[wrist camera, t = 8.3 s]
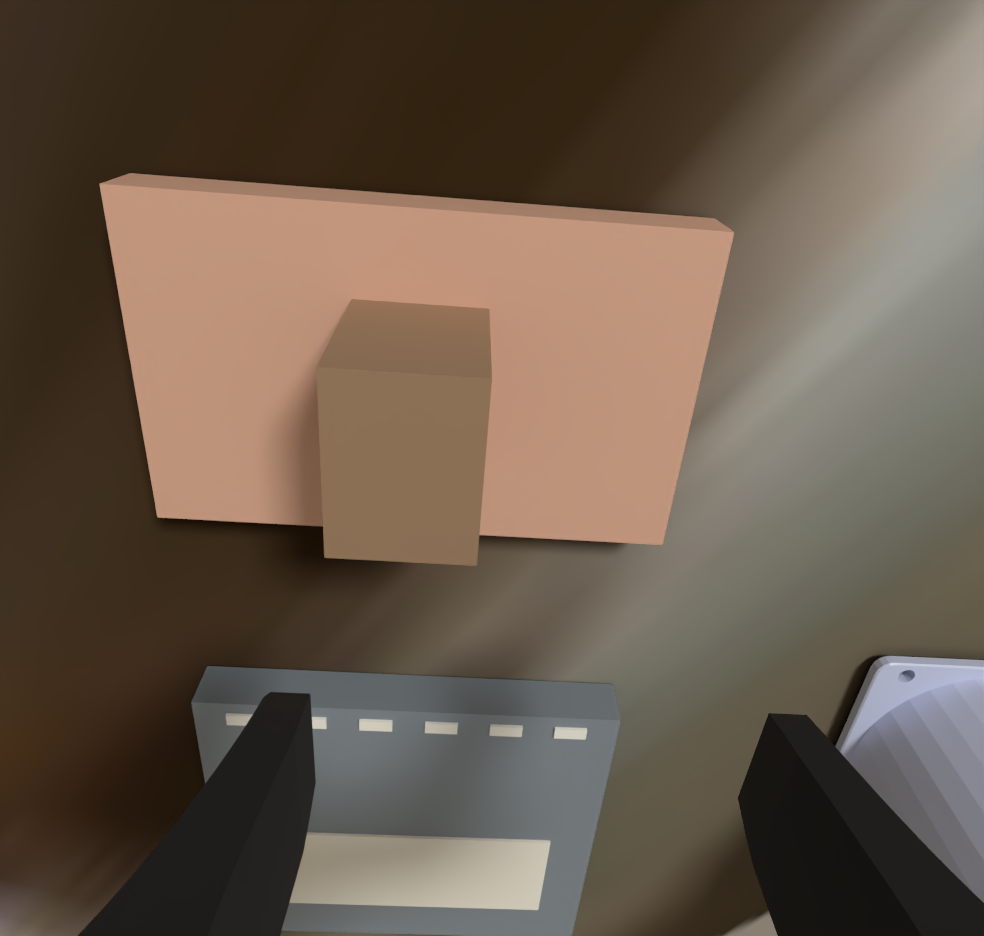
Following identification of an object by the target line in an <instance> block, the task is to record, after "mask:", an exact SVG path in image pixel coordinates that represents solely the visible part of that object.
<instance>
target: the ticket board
mask: <svg viewBox="0 0 984 936" xmlns="http://www.w3.org/2000/svg"><path fill="white" fill-rule="evenodd" d="M270 692H285V693H308V694H310V697H311V713H312V729H313V745H314V762H315V778H316V784H315V790H314V796H313V802H312V807H311V813H310V819H309V825H308V830H307V836H306V841H305V847H304V852H303V855H302V859H301V863H300V866H299V870H298V873H297V877H296V881H295V884H294V888H293V891H292V895H291V899H290V902H289V906H288V909H287V913H286V916H285V920H284V923H283V927H282V930H281V931H315V932H352V933H389V934H425V935H462V936H572V932H573V928H574V923H575V919H576V915H577V910H578V906H579V901H580V897H581V893H582V888H583V884H584V880H585V875H586V871H587V867H588V862H589V858H590V853H591V849H592V845H593V840H594V836H595V832H596V827H597V823H598V818H599V814H600V810H601V805H602V801H603V797H604V792H605V788H606V783H607V779H608V775H609V770H610V766H611V762H612V757H613V753H614V749H615V744H616V740H617V735H618V731H619V727H620V722H621V719H620V714H619V709H618V704H617V700H616V695H615V690H614V686H613V684H598V683H576V682H554V681H531V680H509V679H487V678H464V677H442V676H420V675H397V674H375V673H353V672H330V671H308V670H286V669H263V668H241V667H219V666H207V668H206V670H205V672H204V675H203V677H202V679H201V681H200V684H199V686H198V688H197V690H196V693H195V695H194V697H193V699H192V702H191V704H192V710H193V716H194V722H195V727H196V733H197V739H198V745H199V751H200V756H201V762H202V768H203V774H204V780H205V783H206V782H207V781H208V779H209V778H210V777H211V775H212V774H213V773H214V771H215V770H216V768H217V767H218V766H219V764H220V763H221V761H222V760H223V758H224V757H225V756H226V754H227V753H228V751H229V750H230V748H231V747H232V745H233V744H234V742H235V741H236V740H237V738H238V737H239V735H240V734H241V732H242V731H243V729H244V727H245V726H246V724H247V723H248V721H249V720H250V718H251V717H252V715H253V713H254V712H255V710H256V709H257V707H258V705H259V704H260V702H261V700H262V699H263V697H264V696H265V695H267V694H268V693H270Z"/></svg>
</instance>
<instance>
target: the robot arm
mask: <svg viewBox="0 0 984 936" xmlns="http://www.w3.org/2000/svg"><path fill="white" fill-rule="evenodd" d="M903 671H904V672H903ZM315 784H316V778H315V762H314V745H313V729H312V713H311V697H310V694H308V693H285V692H270V693H268V694H267V695H265V696H264V697H263V699H262V700H261V702H260V704H259V705H258V707H257V709H256V710H255V712H254V713H253V715H252V717H251V718H250V720H249V721H248V723H247V724H246V726H245V727H244V729H243V731H242V732H241V734H240V735H239V737H238V738H237V740H236V741H235V742H234V744H233V745H232V747H231V748H230V750H229V751H228V753H227V754H226V756H225V757H224V758H223V760H222V761H221V763H220V764H219V766H218V767H217V768H216V770H215V771H214V773H213V774H212V775H211V777H210V778H209V779H208V781H207V782H206V783H205V785H204V786H203V787H202V789H201V790H200V791H199V793H198V794H197V795H196V797H195V798H194V799H193V801H192V802H191V803H190V805H189V806H188V807H187V809H186V810H185V811H184V813H183V814H182V815H181V817H180V818H179V819H178V820H177V822H176V823H175V824H174V825H173V827H172V828H171V829H170V830H169V832H168V833H167V834H166V835H165V836H164V838H163V839H162V840H161V841H160V843H159V844H158V845H157V846H156V847H155V849H154V850H153V851H152V852H151V853H150V855H149V856H148V857H147V858H146V860H145V861H144V862H143V863H142V864H141V866H140V867H139V868H138V869H137V870H136V872H135V873H134V874H133V875H132V876H131V878H130V879H129V880H128V881H127V882H126V883H125V884H124V886H123V887H122V888H121V889H120V890H119V891H118V892H117V894H116V895H115V896H114V897H113V898H112V899H111V900H110V901H109V903H108V904H107V905H106V906H105V907H104V908H103V909H102V910H101V911H100V912H99V914H98V915H97V916H96V917H95V918H94V919H93V920H92V921H91V922H90V923H89V924H88V925H87V926H86V928H85V929H84V930H83V931H82V932H81V933H80V934H79V935H78V936H280V934H281V930H282V927H283V923H284V920H285V916H286V913H287V909H288V906H289V902H290V899H291V895H292V891H293V888H294V884H295V881H296V877H297V873H298V870H299V866H300V863H301V859H302V855H303V852H304V847H305V841H306V836H307V830H308V825H309V819H310V813H311V807H312V802H313V796H314V790H315ZM738 801H739V805H740V810H741V815H742V819H743V824H744V829H745V833H746V837H747V842H748V846H749V850H750V854H751V858H752V862H753V866H754V869H755V872H756V875H757V878H758V881H759V884H760V887H761V889H762V892H763V895H764V898H765V901H766V904H767V907H768V909H769V912H770V915H771V918H772V921H773V924H774V926H775V929H776V932H777V935H778V936H984V660H968V659H947V658H926V657H905V656H884V657H881V658H879V659H877V660H876V661H875V662H874V663H873V664H872V665H871V667H870V669H869V671H868V674H867V676H866V678H865V680H864V683H863V685H862V687H861V690H860V692H859V694H858V696H857V699H856V701H855V703H854V705H853V708H852V710H851V712H850V714H849V717H848V719H847V721H846V724H845V726H844V728H843V730H842V733H841V735H840V737H839V739H838V742H837V744H836V746H834V745H833V744H832V742H831V741H830V740H829V739H828V738H827V737H826V736H825V735H824V734H823V732H822V731H821V730H820V729H819V728H818V727H817V726H816V725H815V724H814V723H813V722H812V720H811V719H810V718H809V717H808V716H807V715H794V714H771V713H769V714H768V717H767V720H766V723H765V725H764V728H763V731H762V734H761V736H760V739H759V742H758V744H757V747H756V750H755V753H754V755H753V758H752V761H751V764H750V766H749V769H748V772H747V775H746V777H745V780H744V783H743V786H742V788H741V791H740V794H739V796H738Z"/></svg>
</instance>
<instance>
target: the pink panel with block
mask: <svg viewBox="0 0 984 936" xmlns="http://www.w3.org/2000/svg"><path fill="white" fill-rule="evenodd" d="M100 190H101V195H102V201H103V207H104V213H105V218H106V224H107V230H108V236H109V241H110V247H111V253H112V259H113V264H114V270H115V276H116V282H117V287H118V293H119V299H120V305H121V310H122V316H123V322H124V328H125V333H126V339H127V345H128V351H129V357H130V362H131V368H132V374H133V380H134V385H135V391H136V397H137V403H138V408H139V414H140V420H141V426H142V431H143V437H144V443H145V449H146V454H147V460H148V466H149V472H150V477H151V483H152V489H153V495H154V500H155V506H156V512H157V517H159V518H177V519H196V520H214V521H232V522H251V523H269V524H287V525H306V526H323V537H324V558H338V559H357V560H376V561H395V562H414V563H433V564H452V565H471V566H477V557H478V545H479V535H489V536H508V537H526V538H544V539H563V540H581V541H599V542H618V543H636V544H655V545H663V540H664V536H665V532H666V527H667V523H668V518H669V514H670V510H671V505H672V501H673V497H674V492H675V488H676V484H677V479H678V475H679V471H680V466H681V462H682V458H683V453H684V449H685V445H686V440H687V436H688V431H689V427H690V423H691V418H692V414H693V410H694V405H695V401H696V397H697V392H698V388H699V384H700V379H701V375H702V371H703V366H704V362H705V358H706V353H707V349H708V344H709V340H710V336H711V331H712V327H713V323H714V318H715V314H716V310H717V305H718V301H719V297H720V292H721V288H722V284H723V279H724V275H725V271H726V266H727V262H728V257H729V253H730V249H731V244H732V240H733V236H734V232H733V231H732V230H730V229H729V228H728V227H726V226H725V225H723V224H722V223H720V222H719V221H717V220H716V219H715V218H703V217H690V216H677V215H664V214H651V213H638V212H625V211H612V210H599V209H587V208H574V207H561V206H548V205H535V204H522V203H509V202H496V201H483V200H470V199H457V198H444V197H431V196H418V195H405V194H392V193H379V192H366V191H353V190H340V189H327V188H314V187H301V186H288V185H275V184H262V183H249V182H236V181H224V180H211V179H198V178H185V177H172V176H159V175H146V174H133V173H130V174H127V175H124V176H121V177H118V178H115V179H112V180H109V181H106V182H103V183H100Z"/></svg>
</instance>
